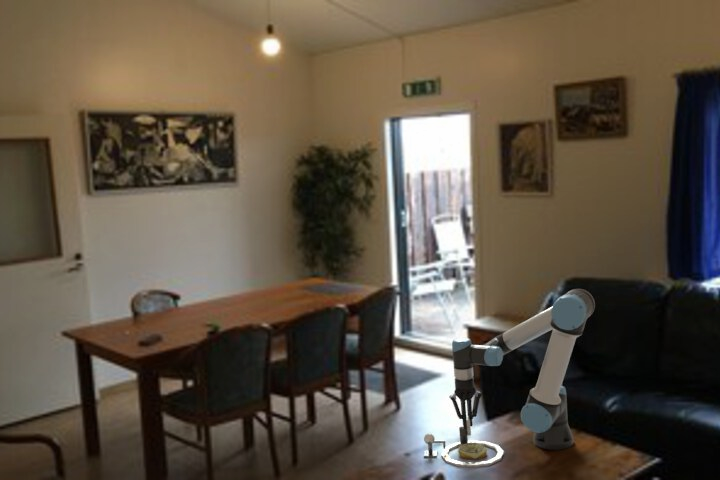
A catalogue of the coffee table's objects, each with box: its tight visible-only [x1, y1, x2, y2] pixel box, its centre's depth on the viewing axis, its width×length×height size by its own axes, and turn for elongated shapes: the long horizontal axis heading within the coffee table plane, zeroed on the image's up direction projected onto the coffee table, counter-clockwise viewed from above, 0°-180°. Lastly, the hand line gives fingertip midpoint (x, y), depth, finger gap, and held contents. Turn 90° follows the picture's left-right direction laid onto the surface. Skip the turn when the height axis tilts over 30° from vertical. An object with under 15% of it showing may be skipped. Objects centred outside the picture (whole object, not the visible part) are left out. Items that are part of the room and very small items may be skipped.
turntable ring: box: [440, 426, 505, 469], centre depth 282 cm, size 23×24×7 cm
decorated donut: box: [457, 443, 488, 461], centre depth 281 cm, size 10×11×4 cm
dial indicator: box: [423, 433, 447, 459], centre depth 284 cm, size 8×5×9 cm, turn 79°
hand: (468, 434), depth 292 cm, fingers closed
